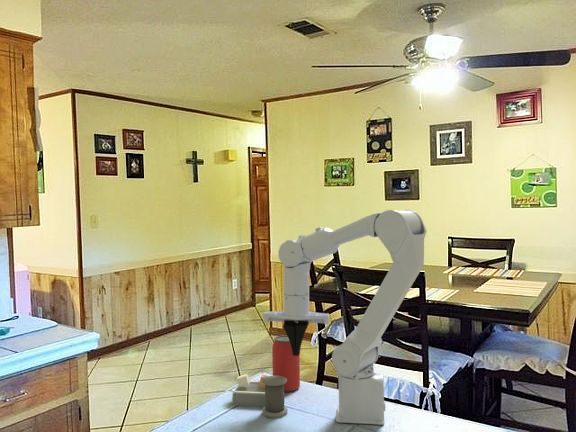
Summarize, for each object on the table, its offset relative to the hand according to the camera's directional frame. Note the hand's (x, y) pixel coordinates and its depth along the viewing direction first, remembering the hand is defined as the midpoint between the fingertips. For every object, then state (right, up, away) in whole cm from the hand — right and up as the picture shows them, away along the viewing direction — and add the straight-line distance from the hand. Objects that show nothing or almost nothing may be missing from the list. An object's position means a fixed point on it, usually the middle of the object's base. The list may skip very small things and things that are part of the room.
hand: (296, 354), depth 110 cm
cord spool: (-5, -11, -6) cm, 13 cm away
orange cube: (-7, -8, +1) cm, 11 cm away
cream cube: (-11, -8, +2) cm, 14 cm away
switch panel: (-9, -11, +1) cm, 14 cm away
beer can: (-2, -11, +8) cm, 14 cm away
